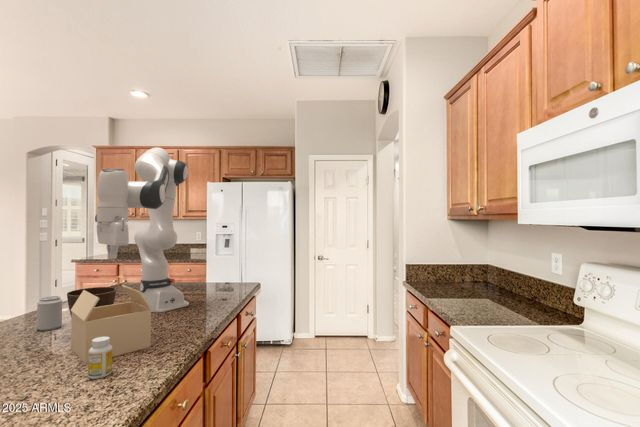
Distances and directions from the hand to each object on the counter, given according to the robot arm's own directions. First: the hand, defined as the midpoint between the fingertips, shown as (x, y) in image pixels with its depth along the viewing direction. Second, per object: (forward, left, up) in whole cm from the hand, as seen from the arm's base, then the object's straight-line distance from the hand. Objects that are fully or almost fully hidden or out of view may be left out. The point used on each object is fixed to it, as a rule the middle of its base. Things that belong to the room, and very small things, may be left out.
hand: (112, 258), depth 110 cm
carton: (0, 0, -29) cm, 29 cm away
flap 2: (-7, 0, -14) cm, 16 cm away
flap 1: (+7, 0, -14) cm, 16 cm away
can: (+10, -40, -29) cm, 51 cm away
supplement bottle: (+8, +20, -29) cm, 36 cm away
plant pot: (+1, -19, -29) cm, 35 cm away
